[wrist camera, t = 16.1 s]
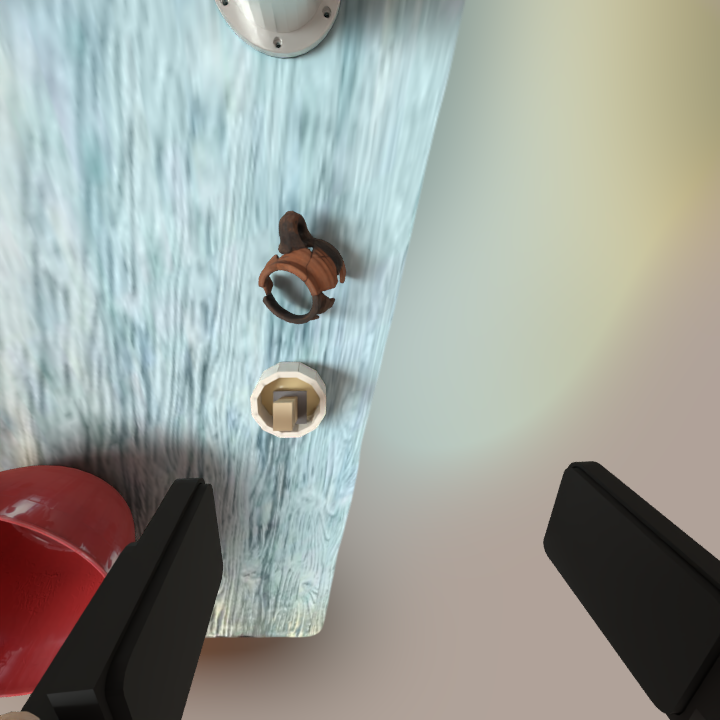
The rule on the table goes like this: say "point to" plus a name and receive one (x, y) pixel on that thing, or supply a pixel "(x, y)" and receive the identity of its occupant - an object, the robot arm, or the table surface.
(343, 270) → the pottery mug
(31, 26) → the table surface
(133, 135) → the table surface
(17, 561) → the mixing bowl
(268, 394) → the cream faceted bowl
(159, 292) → the table surface
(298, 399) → the wall mounted peg
